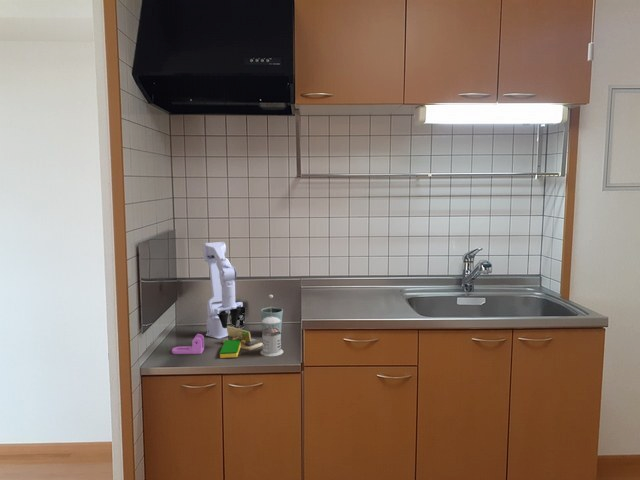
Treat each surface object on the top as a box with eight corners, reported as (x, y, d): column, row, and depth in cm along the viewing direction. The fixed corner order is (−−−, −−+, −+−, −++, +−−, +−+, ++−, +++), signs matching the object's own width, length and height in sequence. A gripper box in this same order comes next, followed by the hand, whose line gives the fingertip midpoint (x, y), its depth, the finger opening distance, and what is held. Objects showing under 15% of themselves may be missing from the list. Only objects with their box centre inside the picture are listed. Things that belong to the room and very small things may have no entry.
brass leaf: (251, 330, 213) (247, 332, 211) (253, 344, 214) (250, 346, 213) (228, 325, 221) (225, 327, 219) (231, 338, 223) (227, 340, 221)
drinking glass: (259, 332, 234) (258, 308, 233) (279, 330, 238) (278, 306, 237) (265, 339, 225) (264, 313, 223) (286, 336, 229) (285, 311, 227)
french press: (262, 357, 202) (260, 298, 199) (258, 347, 213) (256, 291, 210) (285, 354, 205) (284, 296, 202) (280, 345, 216) (279, 290, 213)
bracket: (204, 349, 213) (203, 333, 212) (201, 353, 207) (200, 337, 206) (174, 349, 212) (173, 334, 211) (170, 354, 207) (169, 338, 206)
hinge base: (263, 345, 217) (263, 338, 217) (249, 350, 210) (249, 344, 210) (235, 337, 228) (235, 331, 227) (221, 342, 221) (221, 336, 220)
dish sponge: (220, 358, 201) (219, 352, 201) (225, 345, 215) (225, 340, 214) (237, 357, 201) (236, 351, 201) (241, 344, 215) (241, 339, 215)
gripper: (221, 300, 202) (222, 332, 204) (247, 293, 213) (248, 323, 215) (210, 297, 206) (211, 329, 208) (236, 291, 218) (236, 321, 219)
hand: (229, 326), depth 212 cm, fingers open, 5 cm apart
